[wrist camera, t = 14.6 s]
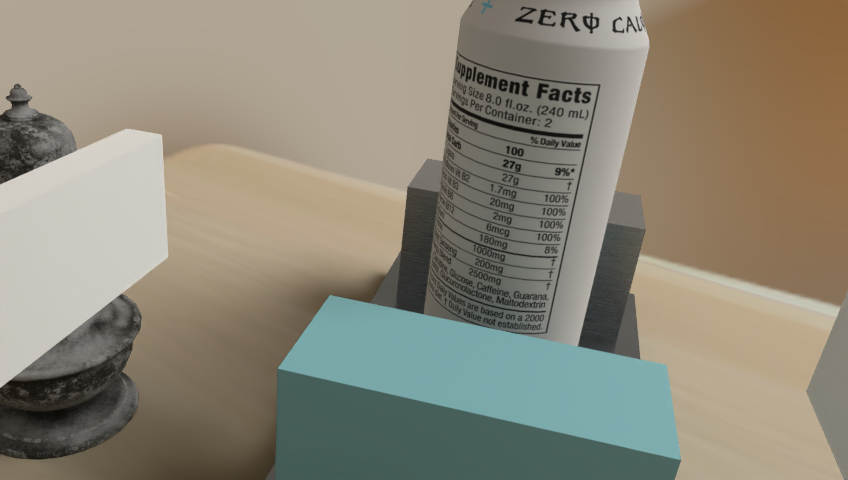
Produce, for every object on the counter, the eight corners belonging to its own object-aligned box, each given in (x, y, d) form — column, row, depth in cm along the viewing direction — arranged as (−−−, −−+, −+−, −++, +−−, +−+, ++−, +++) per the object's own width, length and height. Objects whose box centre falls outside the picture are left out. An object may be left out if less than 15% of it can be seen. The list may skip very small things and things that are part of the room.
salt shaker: (159, 360, 30) (141, 68, 24) (130, 462, 24) (99, 118, 19) (2, 361, 28) (-51, 55, 23) (-63, 468, 23) (-150, 104, 18)
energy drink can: (597, 379, 29) (698, -11, 23) (503, 443, 25) (593, -10, 18) (483, 314, 33) (543, -38, 26) (385, 361, 28) (427, -42, 22)
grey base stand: (627, 319, 37) (661, 191, 34) (660, 784, 17) (749, 577, 14) (399, 274, 38) (412, 149, 35) (191, 646, 19) (180, 437, 16)
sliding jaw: (622, 508, 23) (666, 364, 20) (627, 619, 19) (681, 459, 17) (322, 436, 24) (330, 295, 22) (274, 526, 21) (277, 368, 18)
